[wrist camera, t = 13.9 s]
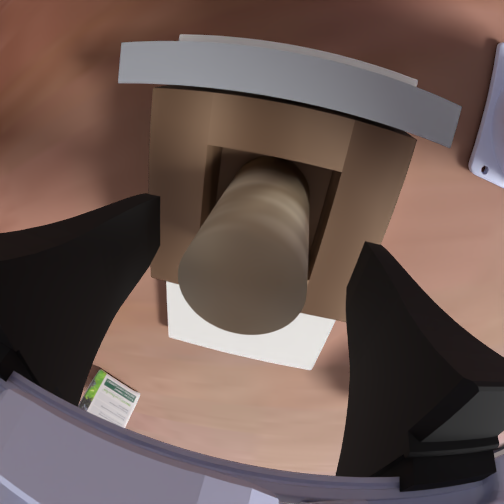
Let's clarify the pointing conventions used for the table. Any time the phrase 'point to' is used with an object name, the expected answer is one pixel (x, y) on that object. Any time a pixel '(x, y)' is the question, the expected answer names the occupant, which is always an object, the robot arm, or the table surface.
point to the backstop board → (297, 89)
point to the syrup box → (109, 399)
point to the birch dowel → (252, 251)
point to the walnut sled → (282, 146)
